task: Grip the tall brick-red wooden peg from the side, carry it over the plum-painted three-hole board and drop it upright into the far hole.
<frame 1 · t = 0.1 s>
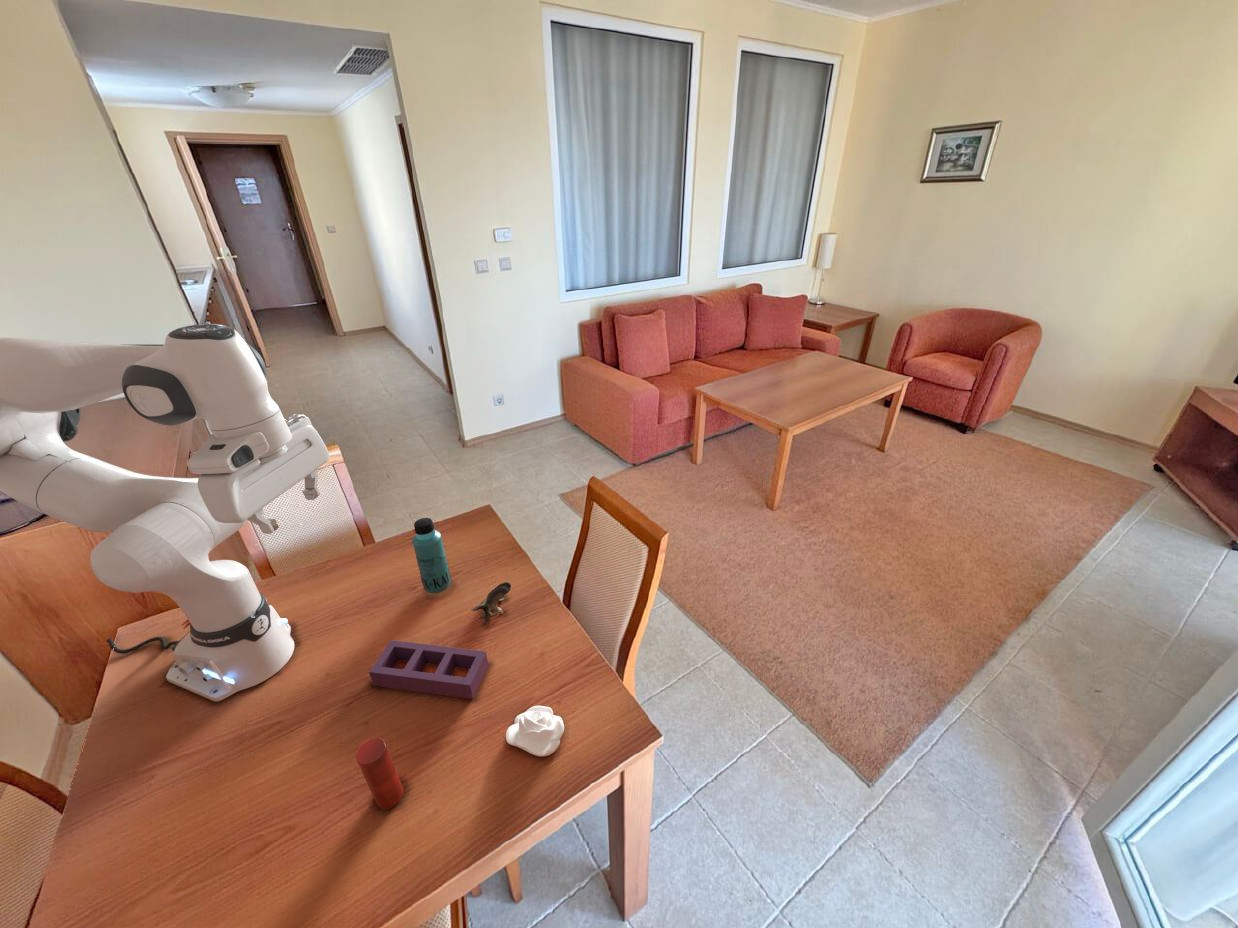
hand: (293, 513, 80), 39 cm above the table, tool pointing down, fingers open, 8 cm apart
beverage bottle: (439, 590, 120), on the table
eagle figurine: (494, 612, 113), on the table
red peg: (389, 795, 79), on the table
rose: (535, 735, 87), on the table
peg board: (432, 675, 98), on the table
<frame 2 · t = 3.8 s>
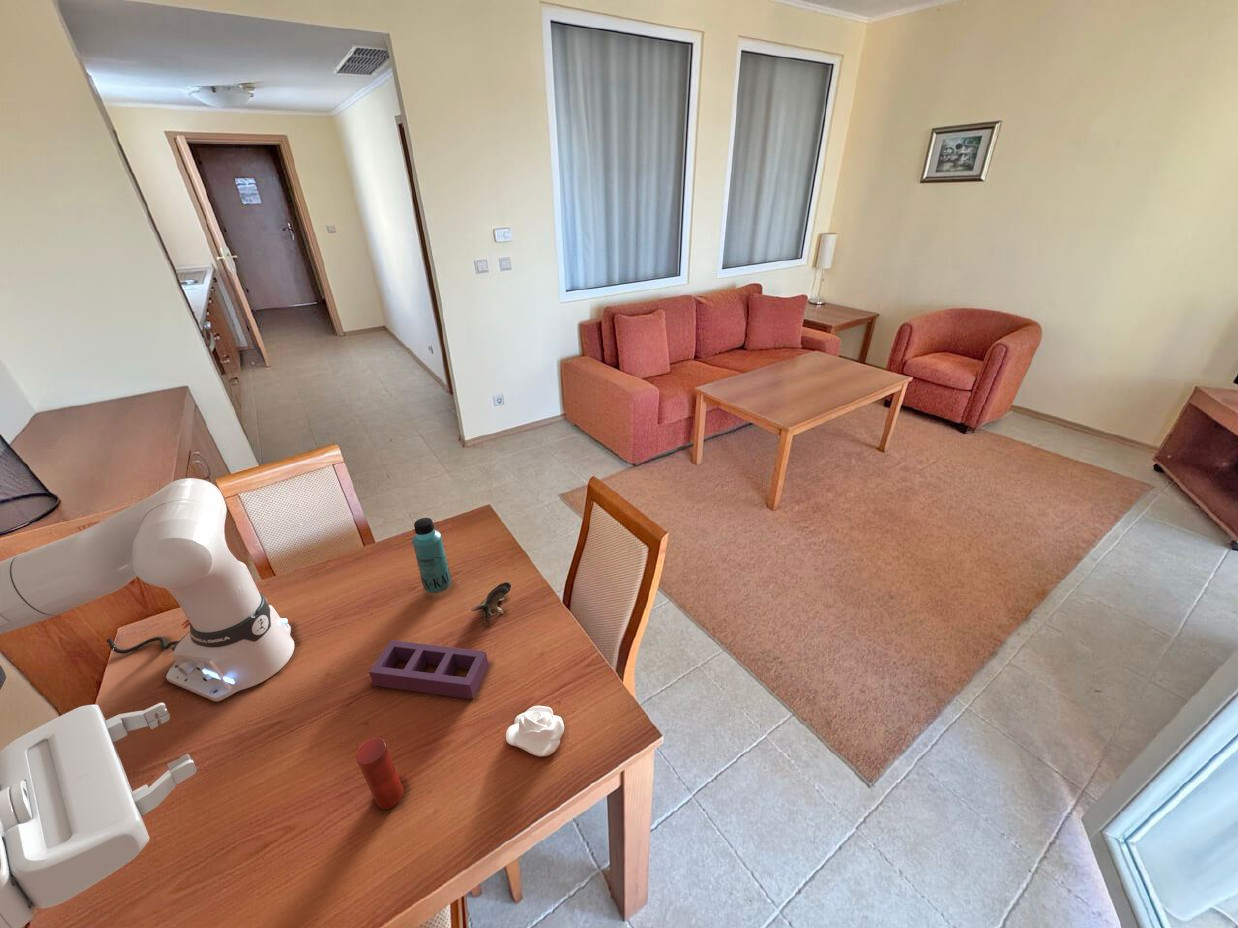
hand: (180, 734, 54), 33 cm above the table, tool horizontal, fingers open, 8 cm apart
nothing on the table moved.
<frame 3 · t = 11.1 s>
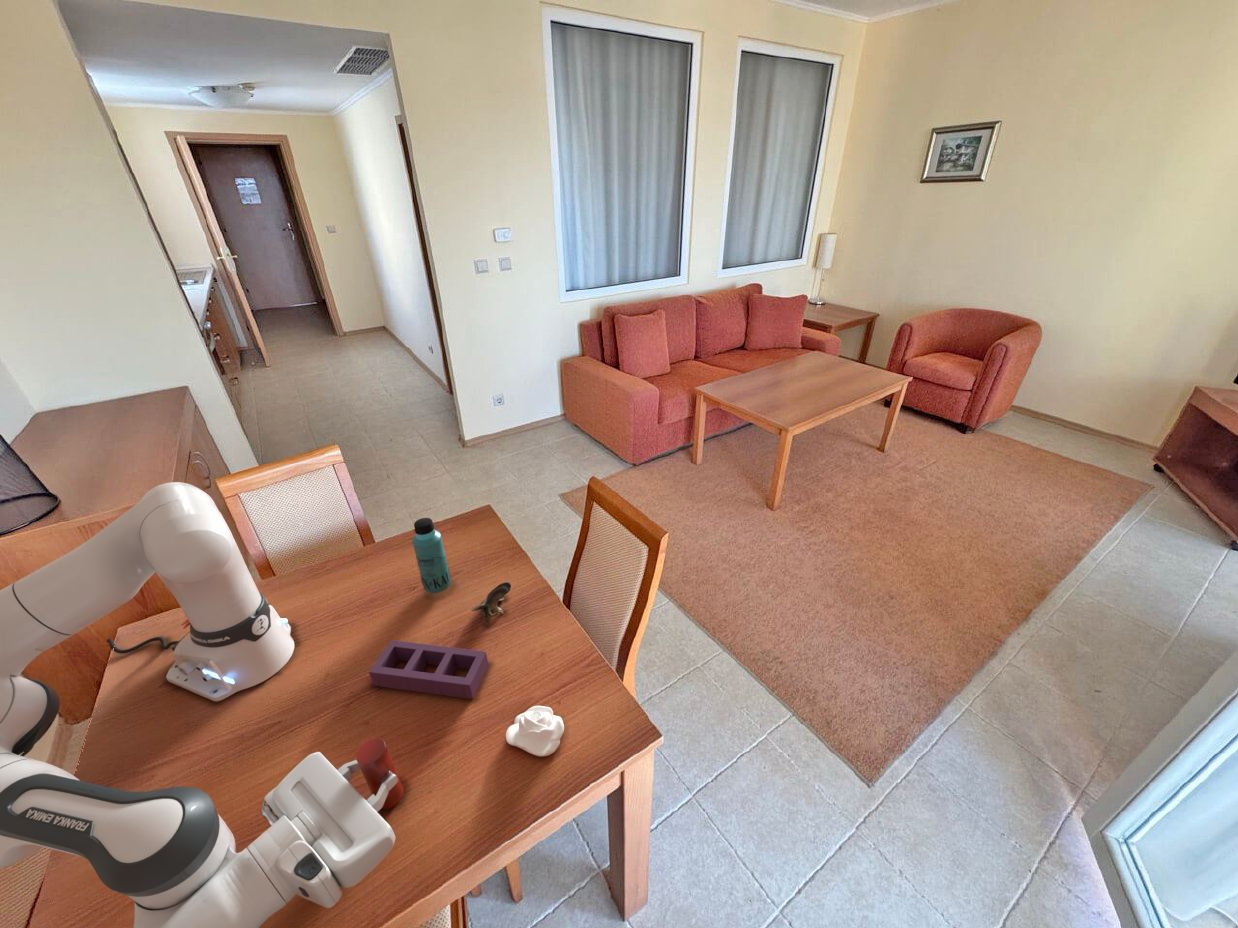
hand: (384, 765, 76), 7 cm above the table, tool horizontal, fingers closed on red peg, 4 cm apart
red peg: (389, 795, 79), on the table, touching gripper
everything else where it was.
when the fingers open (8 cm above the table, at t = 19.4 s): red peg drops 1 cm, resting in peg board.
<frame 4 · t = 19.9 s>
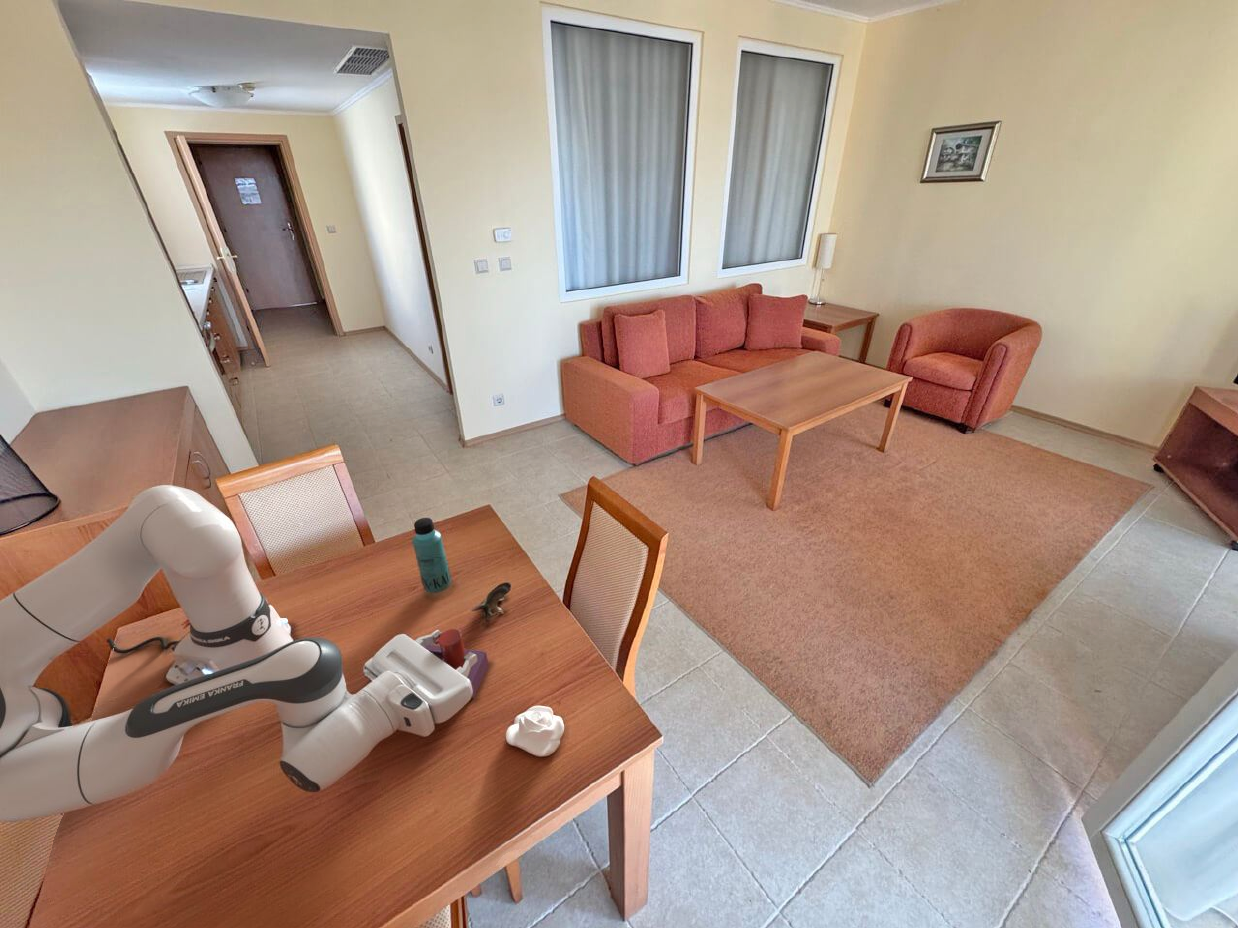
hand: (457, 644, 94), 9 cm above the table, tool horizontal, fingers open, 8 cm apart
red peg: (460, 680, 97), resting in peg board
everything else where it was.
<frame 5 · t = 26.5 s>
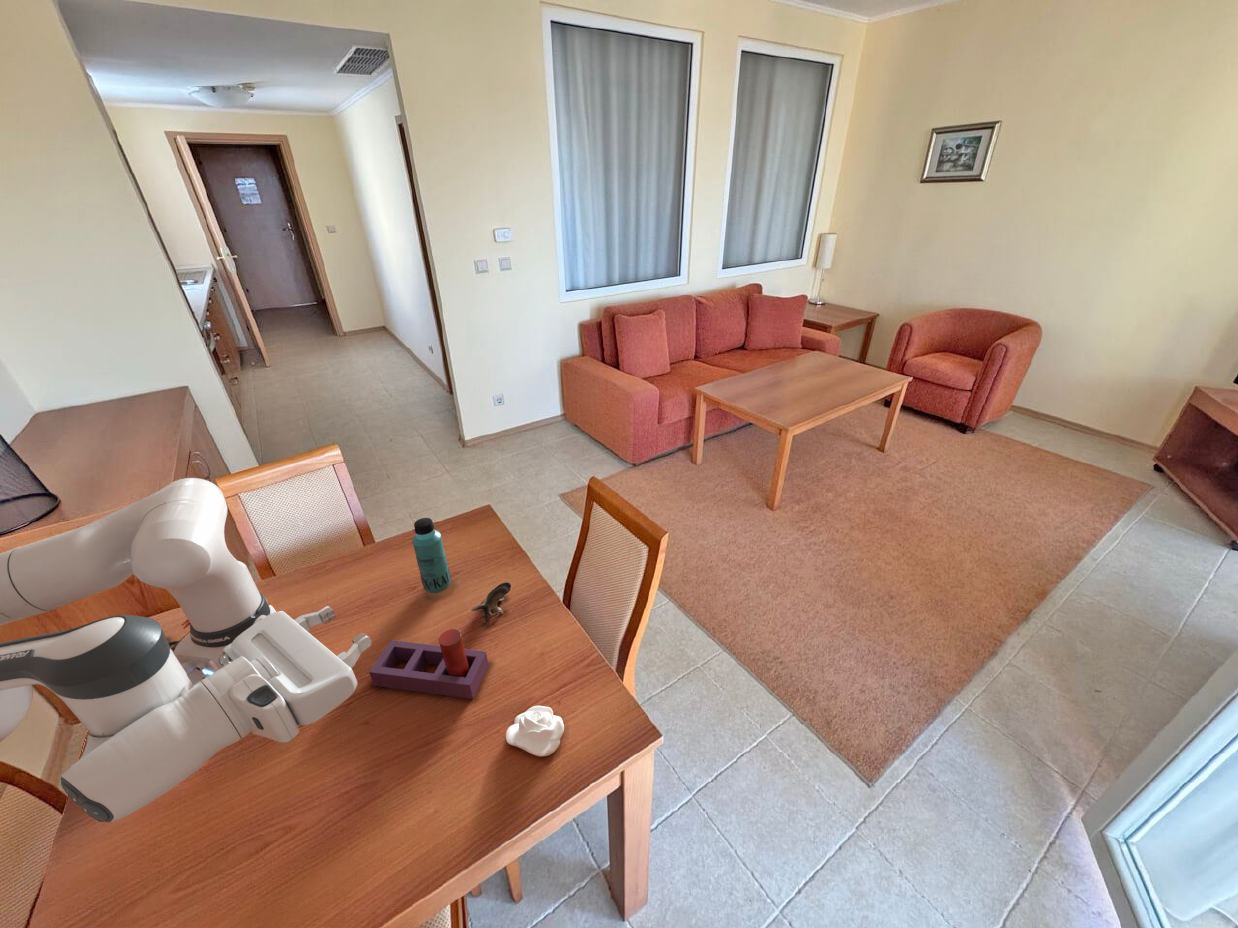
hand: (349, 624, 73), 28 cm above the table, tool horizontal, fingers open, 8 cm apart
nothing on the table moved.
at the end: red peg 0.4 cm from the target spot in the peg board, point 0.0 cm above the peg board's base; red peg tilted 0°; the gripper is holding nothing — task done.
